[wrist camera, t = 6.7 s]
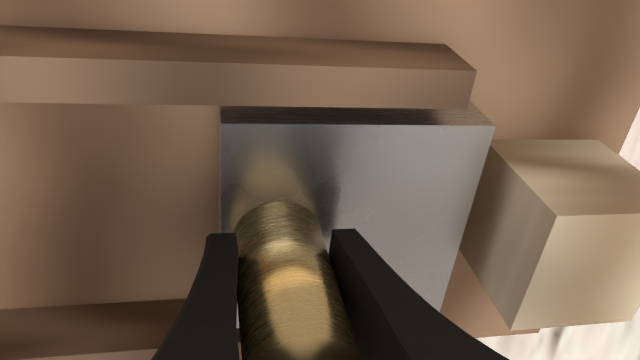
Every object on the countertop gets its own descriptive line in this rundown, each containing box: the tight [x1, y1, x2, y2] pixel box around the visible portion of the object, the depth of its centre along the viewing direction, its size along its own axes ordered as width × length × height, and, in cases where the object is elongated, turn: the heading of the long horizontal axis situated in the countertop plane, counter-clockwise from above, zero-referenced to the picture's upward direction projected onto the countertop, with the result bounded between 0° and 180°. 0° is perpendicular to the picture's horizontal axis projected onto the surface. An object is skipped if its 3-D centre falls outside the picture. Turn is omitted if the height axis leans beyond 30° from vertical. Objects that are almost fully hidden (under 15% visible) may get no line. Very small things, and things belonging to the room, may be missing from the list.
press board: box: [0, 0, 640, 360], centre depth 16 cm, size 22×14×4 cm, turn 84°
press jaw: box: [219, 101, 496, 360], centre depth 14 cm, size 7×7×6 cm
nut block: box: [459, 139, 640, 331], centre depth 16 cm, size 4×4×4 cm
